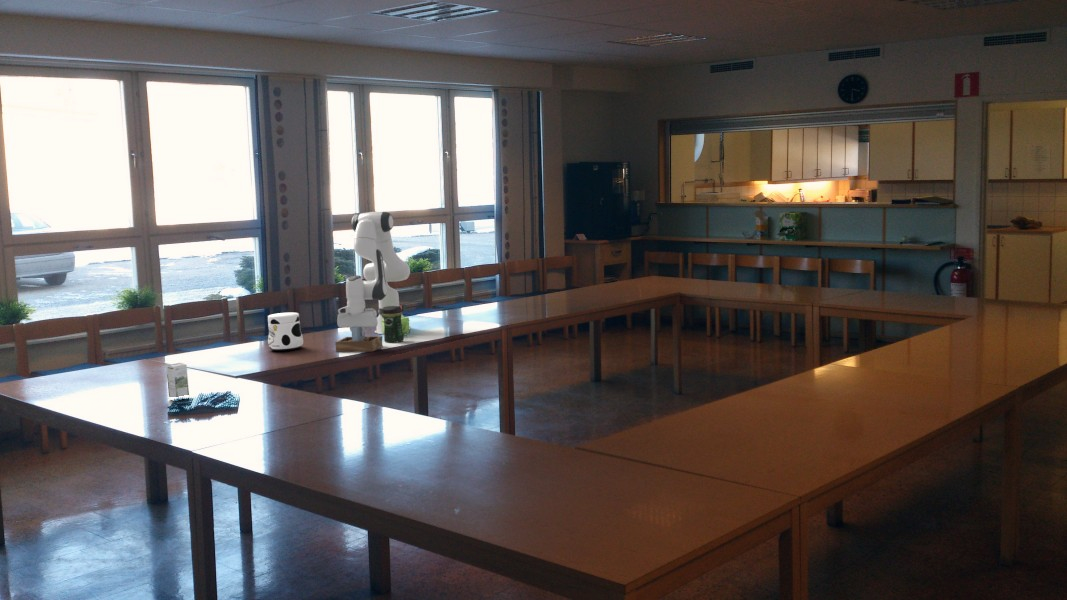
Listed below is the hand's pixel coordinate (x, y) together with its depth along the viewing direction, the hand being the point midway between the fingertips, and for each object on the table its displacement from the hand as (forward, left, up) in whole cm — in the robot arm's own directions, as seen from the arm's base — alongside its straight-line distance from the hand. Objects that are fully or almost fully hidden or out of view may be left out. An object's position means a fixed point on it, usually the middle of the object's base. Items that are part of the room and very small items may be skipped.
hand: (358, 336), depth 473 cm
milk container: (-1, -40, -7) cm, 41 cm away
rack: (0, 0, -7) cm, 7 cm away
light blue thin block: (0, 0, -4) cm, 4 cm away
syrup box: (+105, -34, -7) cm, 111 cm away
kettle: (-36, +6, -7) cm, 37 cm away
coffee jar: (-20, +11, -7) cm, 24 cm away
